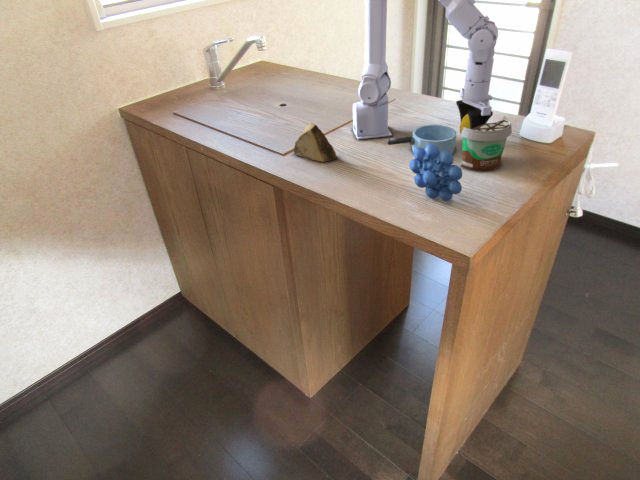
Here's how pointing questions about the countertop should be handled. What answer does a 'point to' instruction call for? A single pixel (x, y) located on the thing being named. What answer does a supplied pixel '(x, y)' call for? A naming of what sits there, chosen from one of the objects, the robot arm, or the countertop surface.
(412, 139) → the pan handle
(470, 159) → the food container
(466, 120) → the lemon
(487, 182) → the countertop surface
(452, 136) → the pan
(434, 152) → the grapes
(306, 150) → the rock
